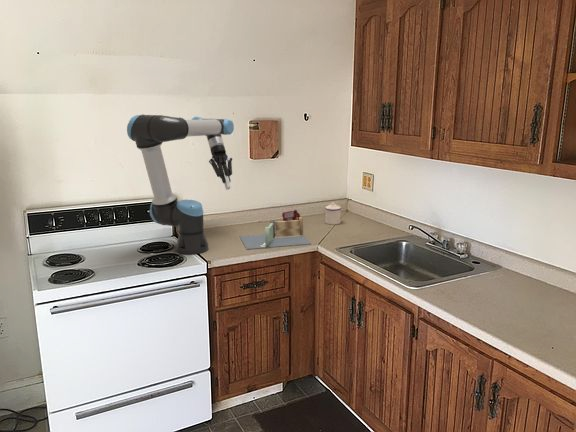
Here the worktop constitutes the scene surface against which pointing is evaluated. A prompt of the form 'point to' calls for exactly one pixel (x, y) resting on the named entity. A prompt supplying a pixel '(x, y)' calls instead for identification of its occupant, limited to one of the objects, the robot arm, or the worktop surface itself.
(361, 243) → the worktop surface
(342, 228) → the worktop surface
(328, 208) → the teacup with lid
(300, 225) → the fixed fence panel
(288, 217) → the toy fire truck
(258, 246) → the card
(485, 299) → the worktop surface
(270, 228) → the hinged fence panel
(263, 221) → the worktop surface
